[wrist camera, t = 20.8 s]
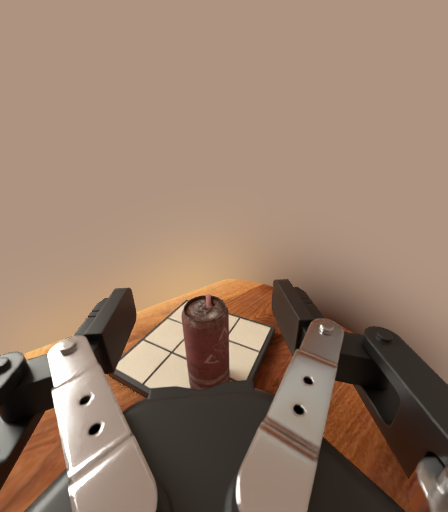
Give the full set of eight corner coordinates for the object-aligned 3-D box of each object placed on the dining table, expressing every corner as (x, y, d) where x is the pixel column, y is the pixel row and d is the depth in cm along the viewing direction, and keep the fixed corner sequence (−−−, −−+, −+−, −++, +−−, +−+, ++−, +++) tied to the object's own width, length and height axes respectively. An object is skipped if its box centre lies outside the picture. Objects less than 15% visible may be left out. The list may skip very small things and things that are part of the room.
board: (108, 375, 38) (106, 368, 37) (186, 304, 56) (186, 299, 55) (225, 445, 28) (225, 437, 28) (274, 333, 46) (275, 326, 46)
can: (227, 362, 38) (226, 291, 32) (231, 399, 32) (230, 320, 26) (191, 364, 38) (183, 293, 32) (188, 402, 32) (178, 323, 26)
